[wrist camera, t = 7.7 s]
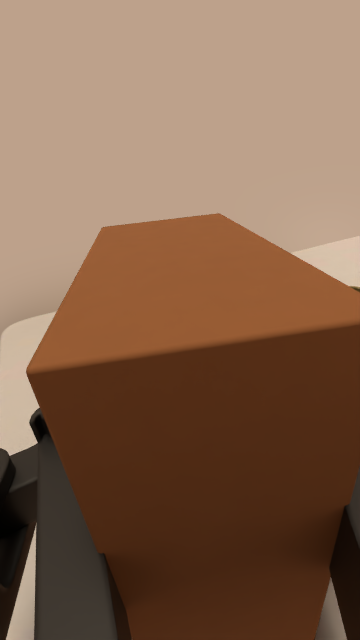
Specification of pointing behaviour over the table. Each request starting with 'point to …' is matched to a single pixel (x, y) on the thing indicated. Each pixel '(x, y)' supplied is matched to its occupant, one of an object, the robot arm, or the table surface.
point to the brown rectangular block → (206, 424)
